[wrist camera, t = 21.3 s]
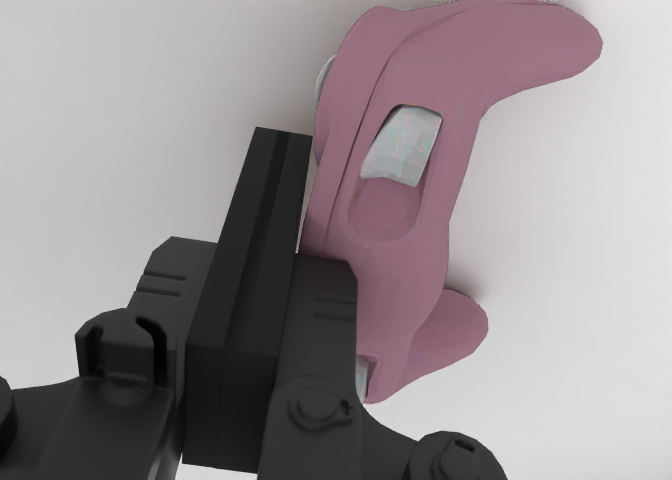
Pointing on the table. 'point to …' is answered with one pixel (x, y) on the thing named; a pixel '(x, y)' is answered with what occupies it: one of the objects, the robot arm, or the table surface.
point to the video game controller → (419, 163)
